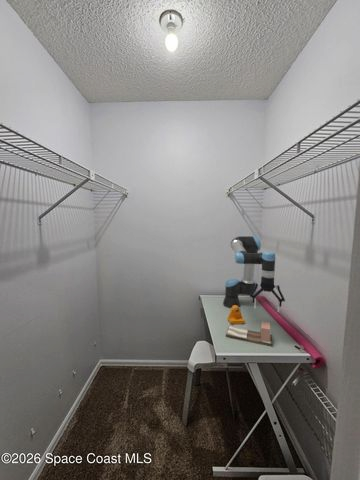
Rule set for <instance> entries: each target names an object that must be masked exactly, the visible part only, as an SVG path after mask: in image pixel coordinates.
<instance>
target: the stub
mask: <svg viewBox="0 0 360 480" xmlns="http://www.w3.org/2000/svg"><path fill="white" fill-rule="evenodd" d="M260 325H261V326H260V327H261V328H260V332H261V340H262V341H267V342H270V334H271V323H270V322H266V321H261V324H260Z"/></svg>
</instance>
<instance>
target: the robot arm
mask: <svg viewBox="0 0 360 480" xmlns="http://www.w3.org/2000/svg"><path fill="white" fill-rule="evenodd" d="M261 247H262V246H261V240H260V238H259V237H258V236H254V235H253V236H251V235H250V236H246V235H245V236H243V235H241V236H236V237H234V238H233V239H231V241H230V249H232V250H233V251H234V254H235V255H234V260H235V264H237V265H238V264H240V265H243V275H242V276H243V277H242V278H241V279H240V280H239V279H237V278H233V279H232V278H231V279H227V280H226V281H225V286H224V287H225V289H224V291H225V293H224V294H225V296H224V297H223V298H224V299H223V301H222V302H223V303H222V305H223V306H224V307H226V308H229V309H231V308H232V306H233V305H237V306H238V307H239V308H241V302H240V299H239V295H241V296H242V295H245V296H246V295H247V296H249V297H250V298H252V304H254V306H253V308H254V309H256V307H257V297H258V296H259V295H260V294H261V293H262V292H268V293H272V294H273V296H275V298H277V307H276V309H277V311H276V312H277V313H280V308H281V307H282V302H286V300H285V297H284V295H283V293H282V291H281V288H280V285H279V284H276V285H275V269H276V253H275V252H273V251H263V252H258V251H260V250H261ZM255 265H261V274H260V275H261V277H260V283H258V282H256V280H255V279H254V274H255ZM259 287H260V289H259V290H258V291H257V289H258V288H259ZM275 289H276V290H277V292H278V293H277V292H276V291H275ZM278 294H279V295H278Z"/></svg>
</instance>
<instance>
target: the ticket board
mask: <svg viewBox="0 0 360 480" xmlns="http://www.w3.org/2000/svg"><path fill="white" fill-rule="evenodd" d="M225 337H226V338H229V339H232V340H233V339H234V340H238V341H239V340H240V341H243V342H248V343H252V344H257V345H263V346H266V347H273V346H274V345H273V335H272V334H271V333H270V342H267V341H262V340H261V331H260V332H259V331H254V330H250V329H247V328H246V329H245V328H241V327H234V326H228V327H227V329H226V333H225Z"/></svg>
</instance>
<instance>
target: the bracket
mask: <svg viewBox="0 0 360 480" xmlns="http://www.w3.org/2000/svg"><path fill="white" fill-rule="evenodd" d="M229 311H230V312H229V313H228V316H227V320H228V322H229V323H230V324H233V325H234V326H235V325H237V326H238V325H242V324H245V323H246V321H245V319H244V318H243V316H242V312H241V311H242V310H241V307H238V306H237V305H233V306H232V308H230V310H229Z"/></svg>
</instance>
